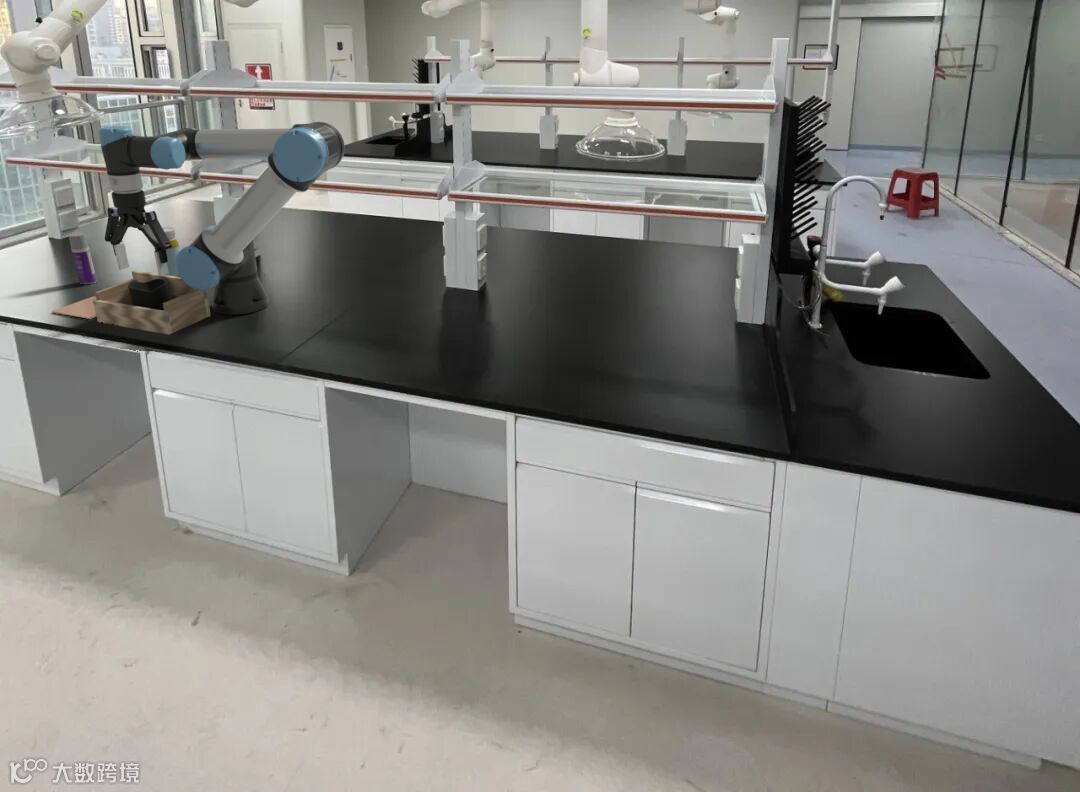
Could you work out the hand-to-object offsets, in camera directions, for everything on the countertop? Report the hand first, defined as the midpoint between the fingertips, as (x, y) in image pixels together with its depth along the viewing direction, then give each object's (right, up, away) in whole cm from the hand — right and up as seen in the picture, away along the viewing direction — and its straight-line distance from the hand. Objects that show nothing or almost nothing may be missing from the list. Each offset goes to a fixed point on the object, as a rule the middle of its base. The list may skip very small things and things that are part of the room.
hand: (143, 271), depth 213 cm
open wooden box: (0, -12, +6) cm, 13 cm away
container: (-34, +2, +34) cm, 48 cm away
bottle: (-10, +4, +40) cm, 41 cm away
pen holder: (0, -12, +6) cm, 14 cm away
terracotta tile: (-21, -9, +13) cm, 26 cm away
